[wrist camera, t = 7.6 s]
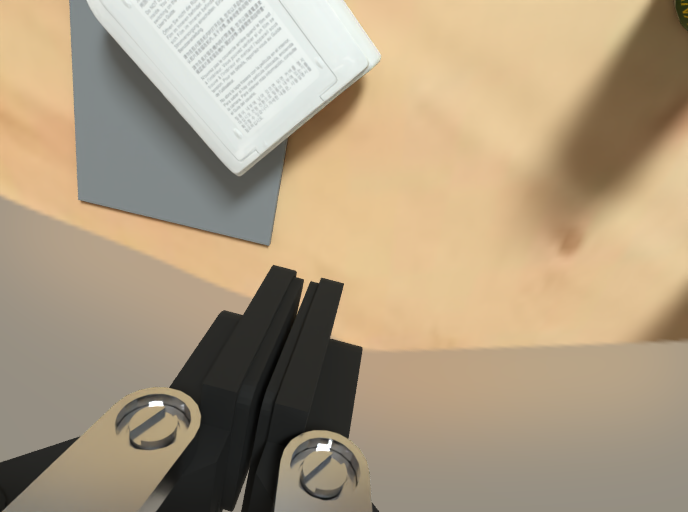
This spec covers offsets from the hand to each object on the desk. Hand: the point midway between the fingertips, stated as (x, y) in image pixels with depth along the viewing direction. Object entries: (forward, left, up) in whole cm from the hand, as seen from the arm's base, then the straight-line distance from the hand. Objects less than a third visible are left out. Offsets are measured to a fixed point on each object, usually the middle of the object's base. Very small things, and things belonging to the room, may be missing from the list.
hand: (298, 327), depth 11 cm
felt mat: (+10, 0, -19) cm, 22 cm away
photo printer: (+2, -1, -17) cm, 17 cm away
